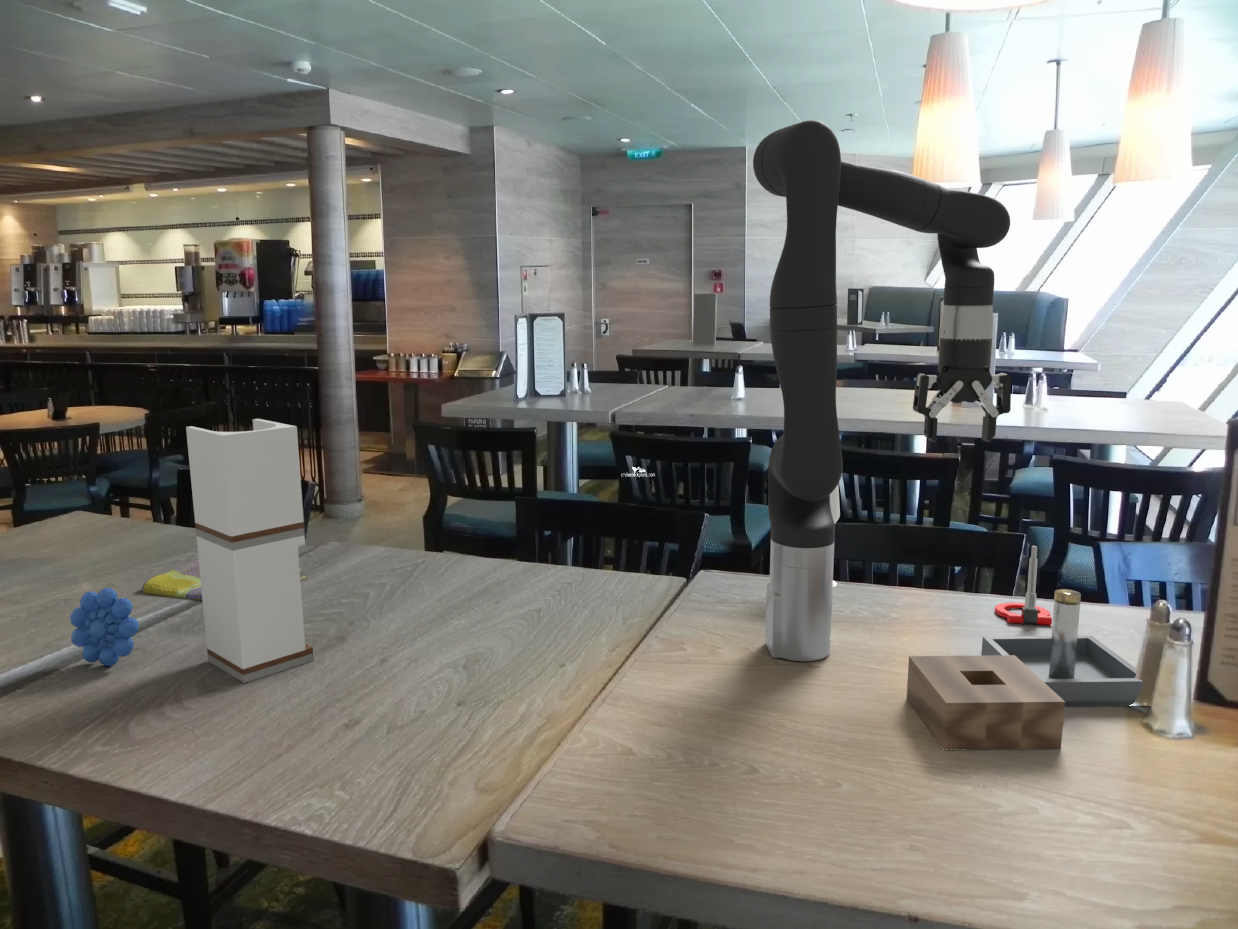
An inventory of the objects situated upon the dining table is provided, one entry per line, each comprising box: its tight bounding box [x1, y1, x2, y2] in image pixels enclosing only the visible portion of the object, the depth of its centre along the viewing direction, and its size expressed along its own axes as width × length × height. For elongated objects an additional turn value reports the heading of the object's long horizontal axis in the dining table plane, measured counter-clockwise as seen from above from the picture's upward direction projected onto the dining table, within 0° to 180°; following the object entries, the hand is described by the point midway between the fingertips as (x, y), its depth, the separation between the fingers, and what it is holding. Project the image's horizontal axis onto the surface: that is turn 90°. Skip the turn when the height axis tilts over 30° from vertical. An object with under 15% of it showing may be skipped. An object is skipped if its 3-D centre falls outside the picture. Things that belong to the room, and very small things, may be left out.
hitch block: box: [906, 655, 1066, 751], centre depth 118 cm, size 14×14×6 cm
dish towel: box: [141, 558, 307, 601], centre depth 175 cm, size 18×24×3 cm
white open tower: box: [185, 418, 315, 684], centre depth 136 cm, size 11×11×35 cm
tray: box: [980, 635, 1143, 708], centre depth 130 cm, size 16×16×4 cm
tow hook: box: [994, 545, 1053, 626], centre depth 155 cm, size 8×13×9 cm
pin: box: [1049, 588, 1082, 679], centre depth 129 cm, size 3×3×12 cm
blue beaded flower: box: [69, 587, 140, 667], centre depth 138 cm, size 12×7×12 cm, turn 75°
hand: (959, 440), depth 146 cm, fingers open, 8 cm apart
